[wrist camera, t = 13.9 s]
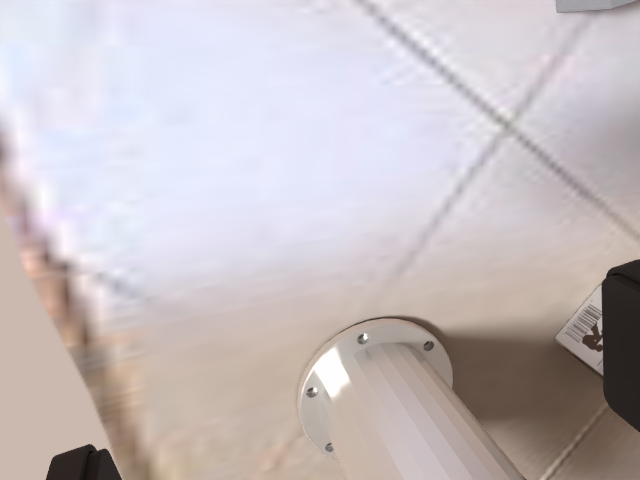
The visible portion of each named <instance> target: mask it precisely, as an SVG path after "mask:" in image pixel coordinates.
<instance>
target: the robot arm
mask: <svg viewBox="0 0 640 480" xmlns="http://www.w3.org/2000/svg"><path fill="white" fill-rule="evenodd" d="M601 292H602V340H603V388H604V396H605V399H606V401H607V403H608V404H609V406H610V407H611V409H612V410H613V411H614V412H616V413H617V414H618V415H619V416H621V417H622V418H623V419H624V420H625V421H627V422H628V423H629V424H630V425H631V426H633V427H634V428H635V429H636V430H638V431H639V432H640V259H639V260H634V261H631V262H628V263H626V264H623V265H620V266H617V267H614V268H612V269H610V270H609V271H608V273H607V275H606V279H604V280H603V282H602V286H601ZM452 387H453V370H452V365H451V362H450V359H449V356H448V354H447V352H446V350H445V349H444V347H443V346H442V344H441V343H440V342H439V341H438V340H437V339H436V338H435V337H434V335H432V334H431V333H430V332H429V331H427V330H426V329H425V328H423V327H421V326H419V325H417V324H415V323H413V322H410V321H405V320H401V319H377V320H371V321H366V322H363V323H360V324H357V325H354V326H352V327H350V328H348V329H346V330H344V331H343V332H341V333H339V334H337V335H336V336H335V337H334V338H332V339H331V340H330V341H328V342H327V343H326V344H325V345H324V346H323V347H322V348H321V349H320V350H319V351H318V352H317V353H316V354H315V355H314V357H313V358H312V360H311V361H310V363H309V364H308V366H307V367H306V369H305V372H304V374H303V376H302V379H301V381H300V385H299V390H298V394H297V409H298V414H299V418H300V422H301V424H302V427H303V429H304V432H305V434H306V436H307V437H308V439H309V440H310V442H311V443H312V444H313V445H314V446H315V447H316V448H317V449H318V450H319V451H321V452H322V453H324V454H326V455H327V456H329V457H331V458H333V459H336V460H338V461H339V464H340V466H341V469H342V471H343V474H344V476H345V479H346V480H526V479H525V477H524V476H523V475H522V474H521V473H520V471H519V470H518V469H517V468H516V467H515V465H514V464H513V463H512V462H511V460H510V459H509V458H508V457H507V456H506V454H505V453H504V452H503V451H502V450H501V448H500V447H499V446H498V445H497V443H496V442H495V441H494V440H493V439H492V437H491V436H490V435H489V434H488V433H487V431H486V430H485V429H484V428H483V426H482V425H481V424H480V423H479V422H478V420H477V419H476V418H475V417H474V415H473V414H472V413H471V412H470V411H469V409H468V408H467V407H466V406H465V404H464V403H463V402H462V401H461V399H460V398H459V397H458V396H457V395H456V393H455V392H454V391H453V390H452ZM46 480H122V479H121V477H120V474H119V472H118V470H117V468H116V466H115V464H114V461H113V459H112V457H111V455H110V453H109V451H108V450H107V449H102V450H99V451H97V450H96V448H95V447H94V446H93V445H90V444H88V445H86V446H82V447H80V448H76V449H74V450H71V451H68V452H65V453H62V454H59V455H56V456H55V457H53V459H52V461H51V464H50V467H49V471H48V474H47V478H46Z"/></svg>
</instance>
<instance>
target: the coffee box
mask: <svg viewBox="0 0 640 480" xmlns="http://www.w3.org/2000/svg"><path fill="white" fill-rule="evenodd" d="M601 286H602V284H601V285H599V286H598V287H597V289H596V290H595V291H594V292H593V293H592V295H591V296H590V297H589V298H588V299H587V300H586V302H585V303H584V304H583V305H582V306H581V307H580V308H579V310H578V311H577V312H576V313H575V314H574V315H573V317H572V318H571V319H570V320H569V321H568V322H567V323H566V325H565V326H564V327H563V328H562V329H561V330H560V332H559V333H558V334H557V335H556V336H555V341H556V342H557V343H558V344H559V345H561V346H562V347H563V348H564V349H566V350H567V351H568V352H569V353H571V354H572V355H573V356H574V357H576V358H577V359H578V360H579V361H581V362H582V363H583V364H584V365H586V366H587V367H588V368H589V369H591V370H592V371H593V372H594V373H596V374H597V375H598V376H599V377H601V378H602V379H603V340H602V292H601Z"/></svg>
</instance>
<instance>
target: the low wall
mask: <svg viewBox="0 0 640 480" xmlns="http://www.w3.org/2000/svg"><path fill="white" fill-rule="evenodd" d="M634 1H637V0H556V9H557V13H558V12H572V11H586V10H600V9H612V8H615V7H618V6H621V5H624V4H627V3H631V2H634Z"/></svg>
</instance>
